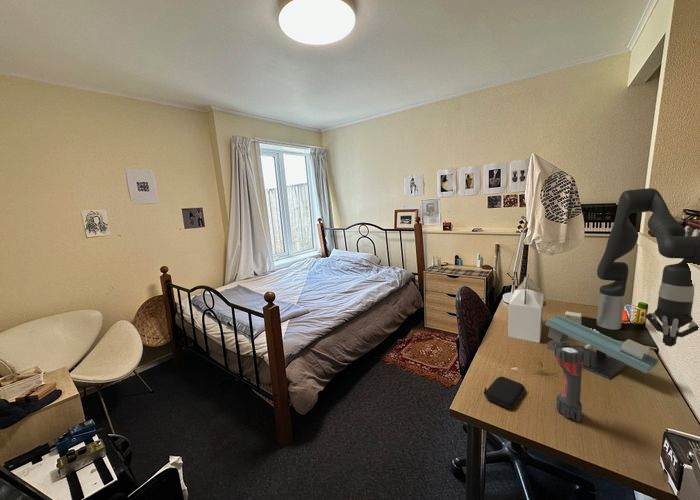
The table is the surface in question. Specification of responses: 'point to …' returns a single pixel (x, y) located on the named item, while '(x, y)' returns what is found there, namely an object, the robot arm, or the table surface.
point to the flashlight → (570, 379)
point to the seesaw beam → (595, 342)
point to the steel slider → (634, 350)
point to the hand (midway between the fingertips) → (668, 345)
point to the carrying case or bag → (504, 392)
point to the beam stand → (597, 361)
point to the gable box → (526, 312)
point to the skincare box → (573, 318)
